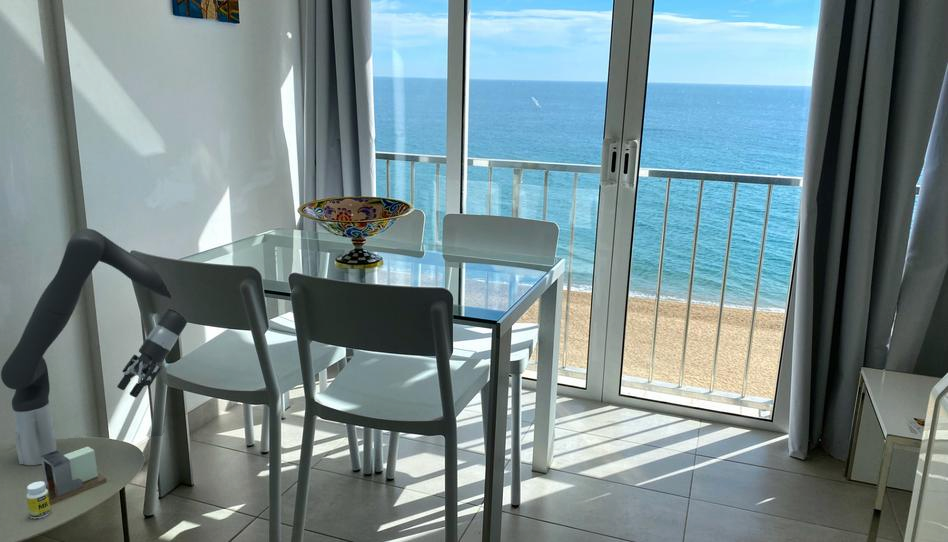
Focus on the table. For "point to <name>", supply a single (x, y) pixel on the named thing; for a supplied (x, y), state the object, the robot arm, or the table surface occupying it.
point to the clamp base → (64, 478)
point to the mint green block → (83, 464)
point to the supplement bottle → (38, 500)
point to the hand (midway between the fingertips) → (126, 392)
